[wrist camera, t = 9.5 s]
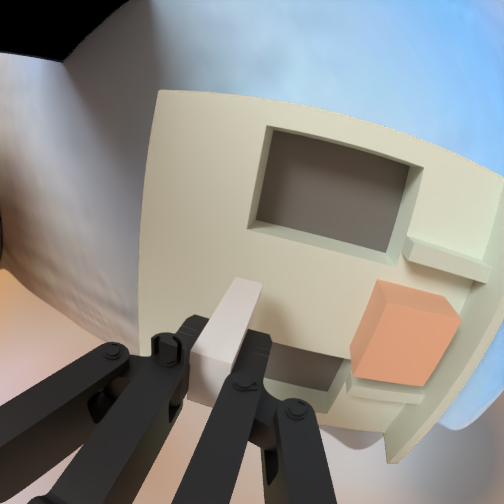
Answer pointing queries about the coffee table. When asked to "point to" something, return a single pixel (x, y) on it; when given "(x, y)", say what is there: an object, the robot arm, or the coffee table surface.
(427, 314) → the block
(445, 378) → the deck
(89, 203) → the coffee table surface
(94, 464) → the robot arm
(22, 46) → the vase
